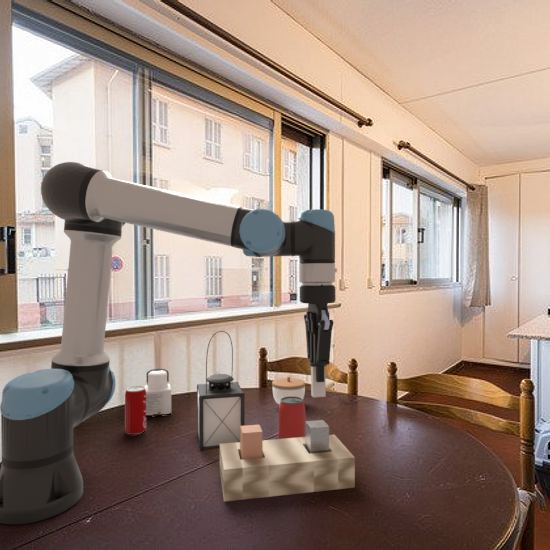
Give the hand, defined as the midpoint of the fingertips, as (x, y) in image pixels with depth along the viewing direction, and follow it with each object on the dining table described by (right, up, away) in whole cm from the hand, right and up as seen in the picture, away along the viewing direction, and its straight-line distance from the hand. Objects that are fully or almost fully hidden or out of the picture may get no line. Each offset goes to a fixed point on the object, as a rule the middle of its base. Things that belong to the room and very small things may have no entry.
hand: (318, 395), depth 87 cm
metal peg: (0, -12, 0) cm, 12 cm away
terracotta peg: (-14, -12, -3) cm, 19 cm away
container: (-45, -17, +40) cm, 63 cm away
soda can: (-47, -17, +24) cm, 55 cm away
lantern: (-23, -17, +19) cm, 35 cm away
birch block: (-7, -17, -1) cm, 18 cm away
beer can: (-5, -17, +14) cm, 22 cm away
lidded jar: (-5, -17, +47) cm, 50 cm away
